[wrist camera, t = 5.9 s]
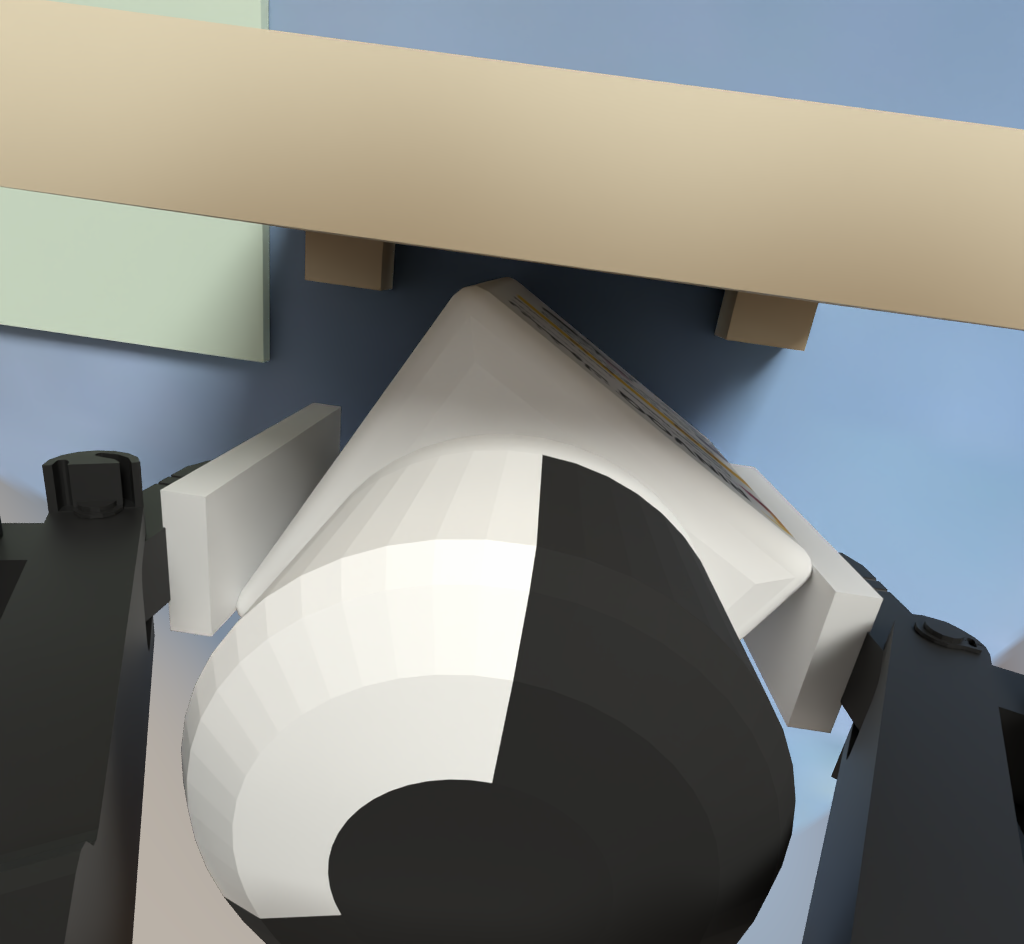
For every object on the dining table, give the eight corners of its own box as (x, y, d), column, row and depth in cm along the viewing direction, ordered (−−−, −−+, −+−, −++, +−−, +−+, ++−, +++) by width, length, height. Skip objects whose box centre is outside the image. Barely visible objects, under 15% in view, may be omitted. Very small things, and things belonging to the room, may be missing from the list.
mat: (-136, -110, 14) (-155, -120, 14) (268, -58, 14) (260, -67, 14) (-60, 312, 18) (-73, 313, 17) (269, 360, 18) (263, 362, 17)
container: (714, 443, 17) (1102, 878, 5) (546, 618, 20) (532, 1206, 7) (505, 270, 16) (349, 289, 4) (352, 477, 18) (-48, 899, 6)
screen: (307, 114, 15) (-215, -204, 5) (851, 188, 15) (1512, 13, 5) (304, 276, 17) (-112, 292, 6) (805, 347, 16) (1236, 487, 6)
